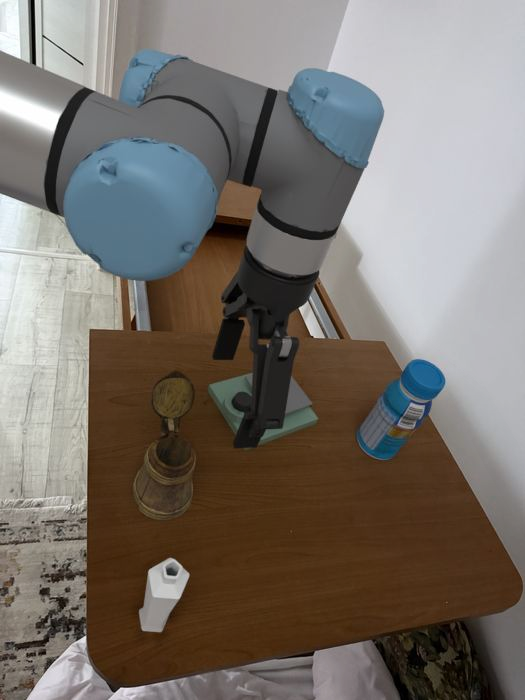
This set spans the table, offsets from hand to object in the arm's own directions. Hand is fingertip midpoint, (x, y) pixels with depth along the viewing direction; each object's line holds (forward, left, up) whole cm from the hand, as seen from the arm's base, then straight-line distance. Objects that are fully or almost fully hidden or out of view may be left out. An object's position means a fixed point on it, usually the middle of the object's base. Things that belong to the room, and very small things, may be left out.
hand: (232, 398), depth 62 cm
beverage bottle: (+36, -4, -24) cm, 44 cm away
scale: (+19, +11, -24) cm, 33 cm away
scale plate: (+22, +11, -20) cm, 32 cm away
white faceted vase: (-13, -13, -24) cm, 30 cm away
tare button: (+14, +11, -21) cm, 27 cm away
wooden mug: (-4, +5, -24) cm, 25 cm away
